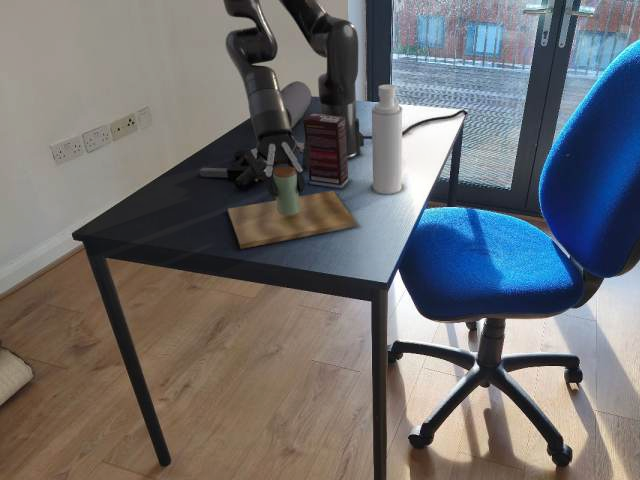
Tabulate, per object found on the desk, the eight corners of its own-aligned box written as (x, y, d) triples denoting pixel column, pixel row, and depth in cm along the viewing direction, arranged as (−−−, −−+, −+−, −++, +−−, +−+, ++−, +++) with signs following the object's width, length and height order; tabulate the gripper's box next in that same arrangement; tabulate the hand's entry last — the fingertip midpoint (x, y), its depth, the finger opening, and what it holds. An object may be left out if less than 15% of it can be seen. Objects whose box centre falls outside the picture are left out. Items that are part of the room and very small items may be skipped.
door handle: (186, 177, 132) (247, 179, 128) (225, 146, 147) (281, 148, 144) (189, 189, 134) (250, 193, 130) (228, 158, 149) (283, 160, 146)
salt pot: (297, 203, 120) (293, 164, 115) (302, 213, 116) (298, 173, 111) (275, 207, 119) (270, 167, 113) (280, 217, 115) (275, 176, 110)
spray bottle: (378, 180, 135) (376, 73, 121) (404, 183, 133) (406, 76, 119) (369, 191, 130) (366, 82, 115) (396, 195, 128) (397, 84, 114)
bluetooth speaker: (286, 110, 178) (282, 78, 172) (314, 112, 177) (312, 79, 171) (263, 136, 160) (259, 101, 154) (295, 137, 159) (291, 102, 153)
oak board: (333, 195, 129) (333, 190, 128) (355, 226, 117) (355, 221, 116) (228, 213, 122) (227, 208, 121) (240, 249, 110) (239, 243, 109)
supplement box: (349, 180, 135) (346, 116, 126) (341, 189, 131) (338, 123, 122) (316, 176, 137) (311, 112, 128) (308, 184, 134) (302, 118, 124)
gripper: (234, 112, 110) (254, 193, 108) (305, 104, 114) (325, 181, 112) (234, 130, 117) (253, 206, 115) (301, 121, 121) (319, 195, 119)
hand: (288, 193), depth 114 cm, fingers closed on salt pot, 5 cm apart
